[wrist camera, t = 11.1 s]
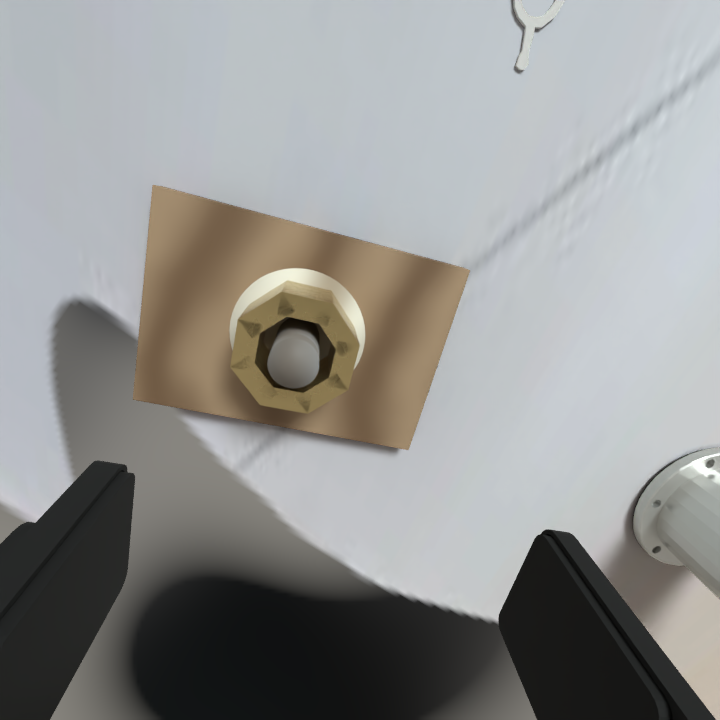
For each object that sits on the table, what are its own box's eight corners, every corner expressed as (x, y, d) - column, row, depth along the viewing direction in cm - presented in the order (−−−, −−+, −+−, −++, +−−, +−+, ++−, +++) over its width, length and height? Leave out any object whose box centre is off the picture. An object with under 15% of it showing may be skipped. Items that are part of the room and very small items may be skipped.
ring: (362, 297, 27) (368, 311, 23) (337, 392, 29) (340, 419, 25) (254, 272, 26) (243, 282, 22) (237, 373, 28) (225, 398, 24)
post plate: (462, 267, 28) (505, 284, 22) (404, 439, 33) (425, 496, 26) (162, 186, 25) (105, 177, 18) (141, 390, 29) (90, 442, 23)
